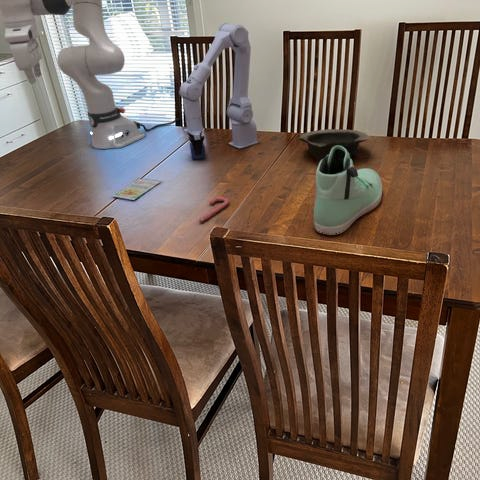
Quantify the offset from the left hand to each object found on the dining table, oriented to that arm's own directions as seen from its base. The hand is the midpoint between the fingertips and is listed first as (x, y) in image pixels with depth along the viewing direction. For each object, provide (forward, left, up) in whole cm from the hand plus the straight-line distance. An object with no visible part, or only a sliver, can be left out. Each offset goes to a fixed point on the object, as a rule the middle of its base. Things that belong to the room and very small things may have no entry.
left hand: (35, 79), depth 148 cm
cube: (-45, +19, -36) cm, 60 cm away
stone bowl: (-76, +59, -36) cm, 102 cm away
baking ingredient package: (-14, +24, -36) cm, 45 cm away
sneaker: (-44, +86, -36) cm, 103 cm away
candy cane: (-19, +56, -36) cm, 69 cm away
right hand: (-45, +19, -34) cm, 59 cm away
